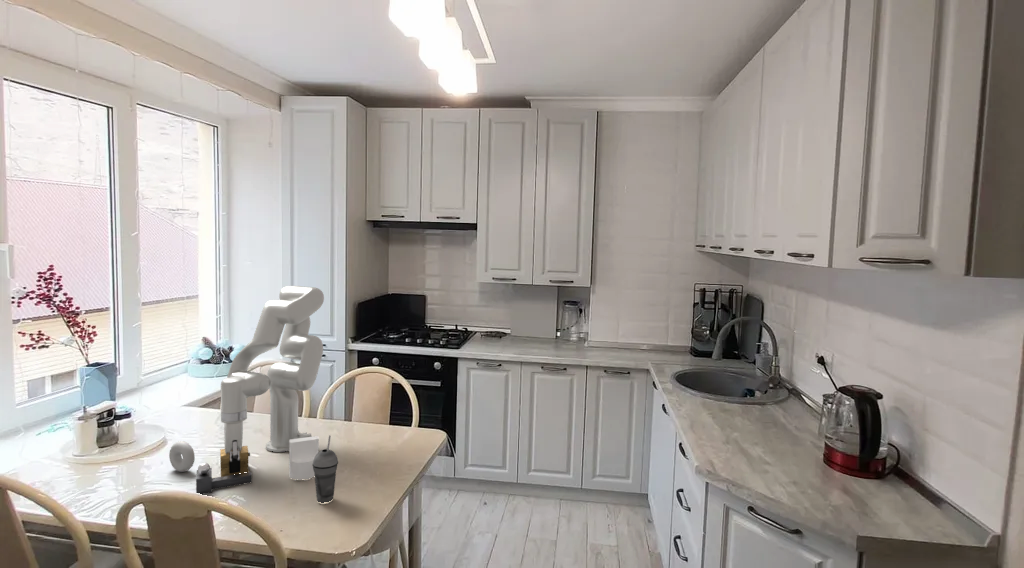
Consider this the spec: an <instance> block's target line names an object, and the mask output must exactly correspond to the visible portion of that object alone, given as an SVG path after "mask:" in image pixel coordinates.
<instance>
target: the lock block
mask: <svg viewBox="0 0 1024 568" xmlns="http://www.w3.org/2000/svg"><path fill="white" fill-rule="evenodd" d="M237 451H238V449H237ZM219 452H220V455H219V457H220V459H219V460H220V477H223V476H229V475H234V474H239V473H244V472H250V471H249V457H251V452H250V451H249V447H248V445H244V446H243V445H242V450H241V451H240V452H239V457H240V472H237V473H231V474H230V473H229V461H230V452H229V453H227V454H226V453H225V448H221V449H220V450H219ZM231 452H233V450H231ZM237 454H238V453H237ZM232 455H233V454H232Z"/></svg>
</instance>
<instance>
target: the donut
mask: <svg viewBox="0 0 1024 568" xmlns="http://www.w3.org/2000/svg"><path fill="white" fill-rule="evenodd" d="M168 454H169V455H168V456H169V457H168V458H169V461H170V464H171V466H172V468H173V469H174V470H176V471H177V472H181V473H183V472H187V471H189V470H190V469H192V467H193V466H194V463H195V460H196V458H195V450H194V449H193V447H192V445H191V444H190V443H189V442H187V441H184V440H183V441H182V440H180V441H179V440H178V441H177V442H175V443H173V445H172V446H171V447H170V449H169V453H168Z"/></svg>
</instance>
